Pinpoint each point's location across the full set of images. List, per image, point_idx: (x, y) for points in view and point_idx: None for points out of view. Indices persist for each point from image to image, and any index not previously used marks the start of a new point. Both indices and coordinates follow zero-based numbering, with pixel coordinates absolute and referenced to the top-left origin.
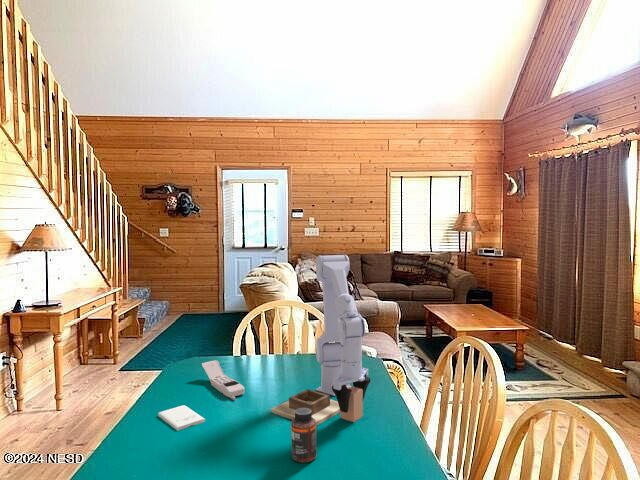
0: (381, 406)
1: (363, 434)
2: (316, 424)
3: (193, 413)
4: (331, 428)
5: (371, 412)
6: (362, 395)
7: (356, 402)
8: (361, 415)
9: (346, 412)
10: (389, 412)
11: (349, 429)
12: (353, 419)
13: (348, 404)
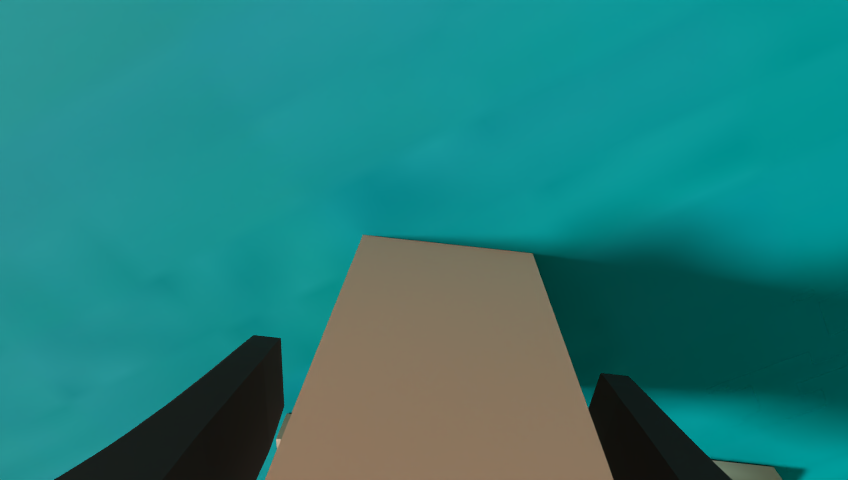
0: (10, 176)
1: (807, 15)
2: (744, 472)
3: None
4: (748, 358)
5: (217, 202)
6: (299, 419)
7: (502, 389)
8: (384, 247)
9: (623, 376)
10: (56, 13)
11: (718, 216)
12: (536, 270)
13: (660, 448)
